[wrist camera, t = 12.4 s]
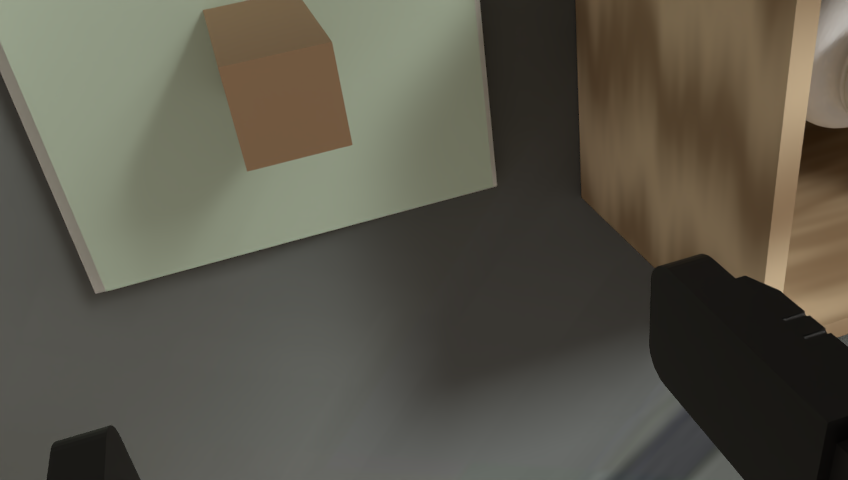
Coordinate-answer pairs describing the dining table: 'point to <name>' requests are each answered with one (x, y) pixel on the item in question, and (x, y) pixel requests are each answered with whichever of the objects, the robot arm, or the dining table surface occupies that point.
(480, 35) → the grey mat
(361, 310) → the dining table surface
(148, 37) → the lid
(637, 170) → the oak box
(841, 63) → the supplement bottle
